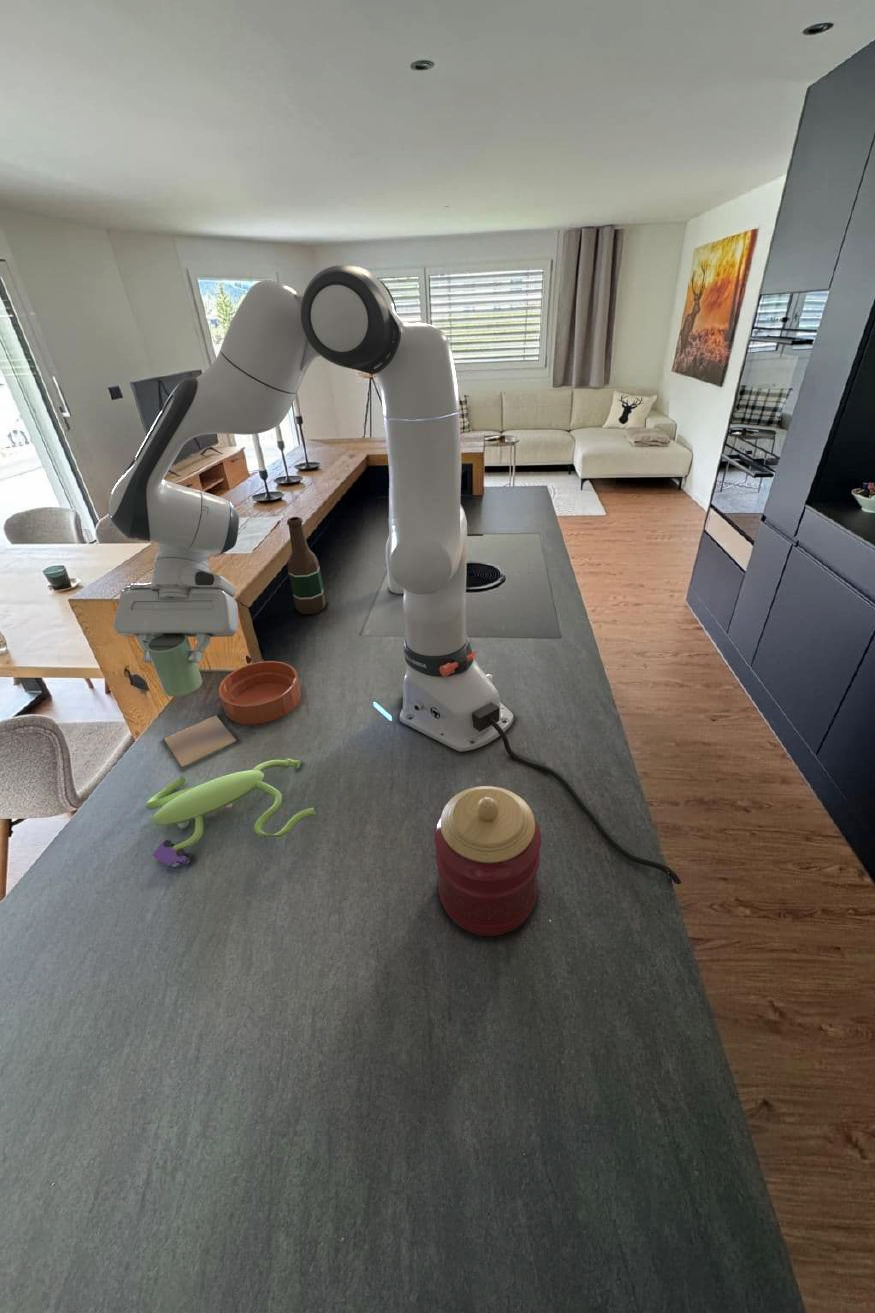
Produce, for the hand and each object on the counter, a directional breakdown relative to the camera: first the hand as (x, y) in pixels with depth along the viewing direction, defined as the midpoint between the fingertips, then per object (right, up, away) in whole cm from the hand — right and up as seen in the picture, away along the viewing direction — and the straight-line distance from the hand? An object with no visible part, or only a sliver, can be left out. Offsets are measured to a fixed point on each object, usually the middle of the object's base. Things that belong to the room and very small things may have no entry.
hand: (172, 662), depth 92 cm
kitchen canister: (+51, -31, -18) cm, 62 cm away
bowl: (+9, -8, +19) cm, 23 cm away
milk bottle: (+35, +19, +59) cm, 72 cm away
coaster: (+1, -15, +10) cm, 18 cm away
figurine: (+13, -24, -5) cm, 28 cm away
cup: (0, -4, +3) cm, 5 cm away
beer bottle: (+11, +13, +52) cm, 55 cm away
